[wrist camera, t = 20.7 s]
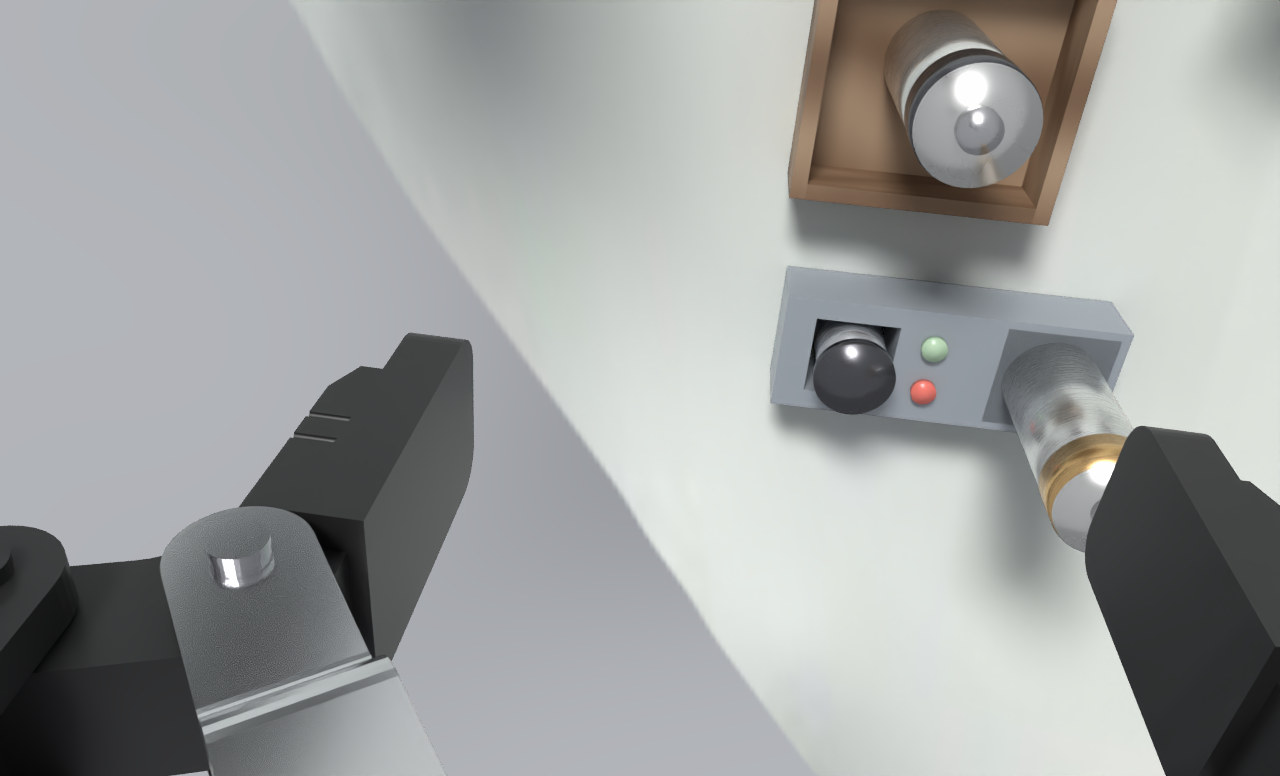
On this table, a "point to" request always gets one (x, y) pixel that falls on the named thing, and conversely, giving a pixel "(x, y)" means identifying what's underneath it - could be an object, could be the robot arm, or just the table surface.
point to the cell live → (1066, 431)
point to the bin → (875, 134)
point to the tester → (938, 340)
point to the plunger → (851, 366)
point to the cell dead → (961, 100)
